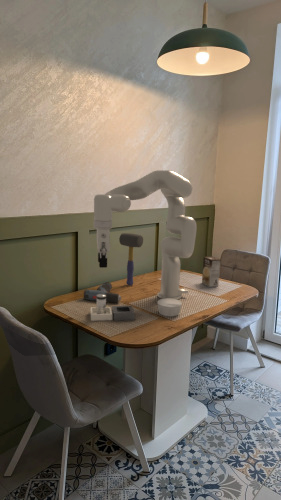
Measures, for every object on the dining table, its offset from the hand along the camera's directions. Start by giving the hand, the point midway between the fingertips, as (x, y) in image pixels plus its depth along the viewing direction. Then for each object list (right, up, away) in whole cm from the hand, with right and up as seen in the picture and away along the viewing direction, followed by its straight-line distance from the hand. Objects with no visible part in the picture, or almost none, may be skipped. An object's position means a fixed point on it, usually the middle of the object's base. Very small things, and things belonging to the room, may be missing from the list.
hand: (102, 264), depth 152 cm
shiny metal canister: (-1, -22, +4) cm, 23 cm away
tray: (-1, -23, +4) cm, 23 cm away
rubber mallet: (+10, -14, +52) cm, 55 cm away
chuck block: (+8, -23, +5) cm, 25 cm away
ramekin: (+29, -23, +11) cm, 39 cm away
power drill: (-1, -18, +32) cm, 36 cm away
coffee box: (+57, -14, +60) cm, 84 cm away
